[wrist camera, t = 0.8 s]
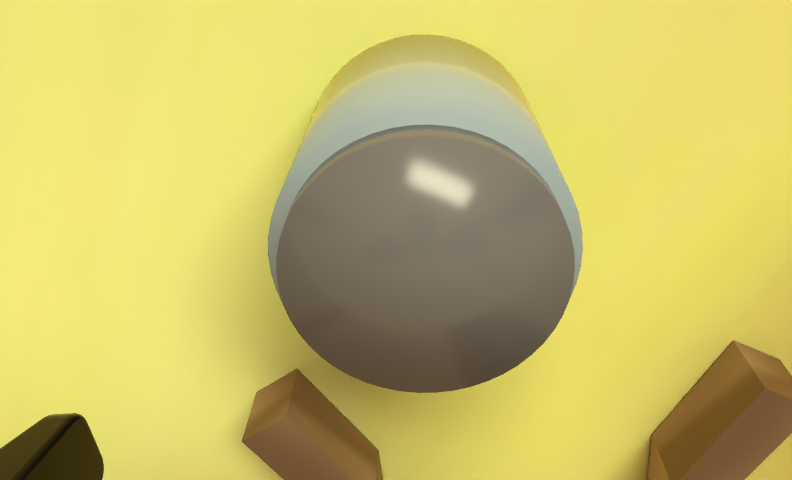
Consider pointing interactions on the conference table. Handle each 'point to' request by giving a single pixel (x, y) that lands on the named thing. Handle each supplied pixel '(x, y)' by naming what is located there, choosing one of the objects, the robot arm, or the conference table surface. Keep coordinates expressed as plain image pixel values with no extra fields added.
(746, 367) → the lane
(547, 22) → the conference table surface
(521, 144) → the jar
